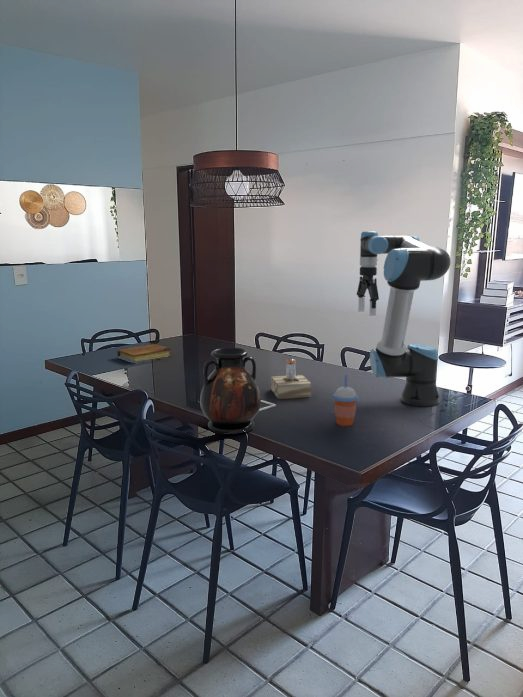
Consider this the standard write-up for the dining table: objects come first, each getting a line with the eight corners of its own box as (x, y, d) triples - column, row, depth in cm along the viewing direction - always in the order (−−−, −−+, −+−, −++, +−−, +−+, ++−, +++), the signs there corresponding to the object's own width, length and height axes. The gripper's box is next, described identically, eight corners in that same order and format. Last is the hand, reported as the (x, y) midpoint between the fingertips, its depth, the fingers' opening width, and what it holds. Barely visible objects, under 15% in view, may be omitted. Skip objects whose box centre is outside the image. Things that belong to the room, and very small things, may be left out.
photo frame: (245, 394, 229) (276, 404, 216) (246, 397, 229) (276, 406, 217) (219, 402, 219) (249, 412, 207) (219, 404, 220) (249, 415, 207)
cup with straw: (354, 418, 201) (356, 372, 197) (359, 427, 192) (361, 378, 188) (330, 419, 200) (331, 372, 197) (334, 428, 191) (335, 378, 188)
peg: (296, 391, 232) (296, 360, 229) (287, 392, 231) (287, 360, 228) (294, 389, 236) (294, 358, 233) (285, 389, 235) (284, 358, 232)
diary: (153, 353, 316) (152, 343, 315) (171, 358, 302) (170, 348, 301) (117, 359, 301) (117, 349, 299) (134, 365, 287) (134, 354, 286)
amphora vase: (249, 414, 206) (248, 342, 200) (270, 433, 186) (270, 354, 180) (194, 422, 198) (191, 347, 193) (210, 442, 179) (208, 360, 173)
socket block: (310, 396, 228) (310, 383, 227) (278, 398, 226) (278, 385, 224) (302, 387, 242) (302, 374, 240) (271, 389, 239) (271, 376, 238)
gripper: (387, 267, 231) (385, 317, 235) (365, 264, 255) (364, 309, 259) (371, 268, 230) (369, 317, 234) (350, 265, 254) (349, 310, 258)
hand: (366, 313), depth 247 cm, fingers open, 13 cm apart
